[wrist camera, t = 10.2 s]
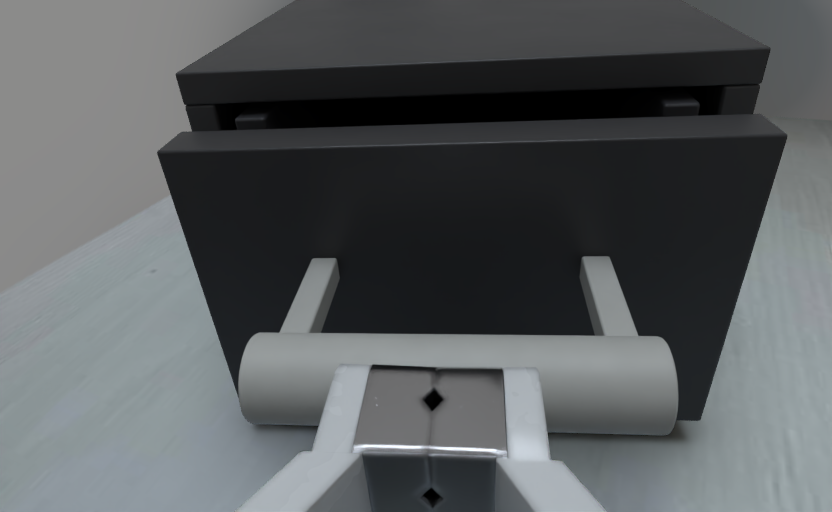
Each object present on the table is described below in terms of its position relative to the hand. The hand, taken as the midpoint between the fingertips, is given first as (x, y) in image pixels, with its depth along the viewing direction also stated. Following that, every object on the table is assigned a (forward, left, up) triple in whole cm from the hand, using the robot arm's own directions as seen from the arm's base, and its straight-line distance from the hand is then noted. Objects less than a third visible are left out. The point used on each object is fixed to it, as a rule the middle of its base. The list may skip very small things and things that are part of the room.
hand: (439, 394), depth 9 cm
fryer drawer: (0, +9, -5) cm, 10 cm away
